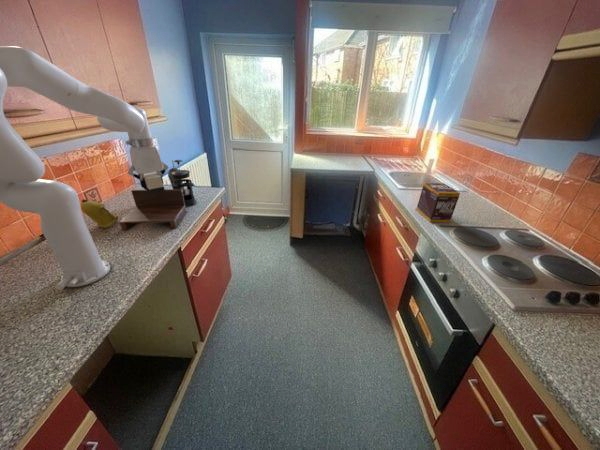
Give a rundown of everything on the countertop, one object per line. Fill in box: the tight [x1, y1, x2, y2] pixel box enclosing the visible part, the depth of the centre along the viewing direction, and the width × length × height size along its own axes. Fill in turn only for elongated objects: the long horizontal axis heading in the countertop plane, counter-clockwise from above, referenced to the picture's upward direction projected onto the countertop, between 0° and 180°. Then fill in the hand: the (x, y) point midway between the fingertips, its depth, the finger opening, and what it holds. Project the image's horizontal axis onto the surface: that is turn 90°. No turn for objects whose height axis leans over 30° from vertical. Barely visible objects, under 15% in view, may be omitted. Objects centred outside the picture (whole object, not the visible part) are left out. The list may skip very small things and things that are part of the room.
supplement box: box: [416, 182, 461, 223], centre depth 125 cm, size 10×15×16 cm
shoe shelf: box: [119, 188, 187, 231], centre depth 112 cm, size 17×22×12 cm
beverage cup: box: [167, 160, 183, 190], centre depth 138 cm, size 7×7×20 cm
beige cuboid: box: [143, 172, 165, 193], centre depth 105 cm, size 12×5×6 cm, turn 45°
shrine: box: [80, 199, 119, 229], centre depth 105 cm, size 12×8×15 cm
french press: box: [171, 159, 197, 207], centre depth 127 cm, size 12×9×23 cm
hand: (153, 186), depth 105 cm, fingers closed on beige cuboid, 5 cm apart
